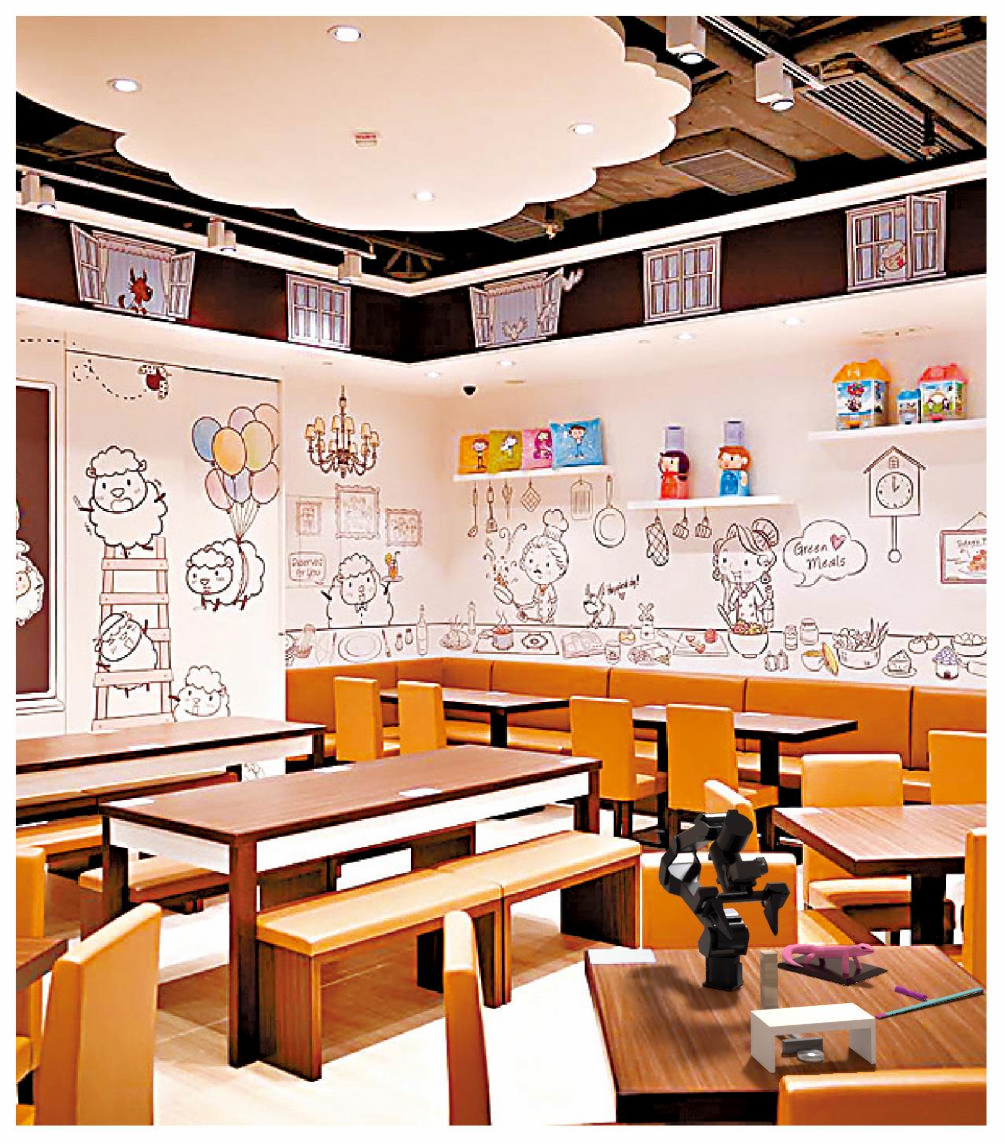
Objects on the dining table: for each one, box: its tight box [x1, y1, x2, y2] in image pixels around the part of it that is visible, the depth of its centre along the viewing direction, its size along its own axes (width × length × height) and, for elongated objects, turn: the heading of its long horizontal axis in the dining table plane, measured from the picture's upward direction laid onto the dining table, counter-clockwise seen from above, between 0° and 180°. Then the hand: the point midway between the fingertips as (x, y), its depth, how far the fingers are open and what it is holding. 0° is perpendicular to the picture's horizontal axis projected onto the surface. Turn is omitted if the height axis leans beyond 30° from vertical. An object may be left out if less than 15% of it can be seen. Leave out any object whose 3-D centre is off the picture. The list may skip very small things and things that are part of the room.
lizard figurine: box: [778, 942, 889, 987], centre depth 255 cm, size 15×20×7 cm
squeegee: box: [874, 985, 985, 1020], centre depth 236 cm, size 29×2×10 cm
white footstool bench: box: [750, 1002, 877, 1074], centre depth 205 cm, size 8×19×8 cm, turn 101°
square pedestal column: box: [759, 949, 824, 1054], centre depth 216 cm, size 16×7×13 cm, turn 11°
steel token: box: [796, 1049, 825, 1063], centre depth 206 cm, size 4×4×1 cm
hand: (754, 936), depth 230 cm, fingers open, 9 cm apart
